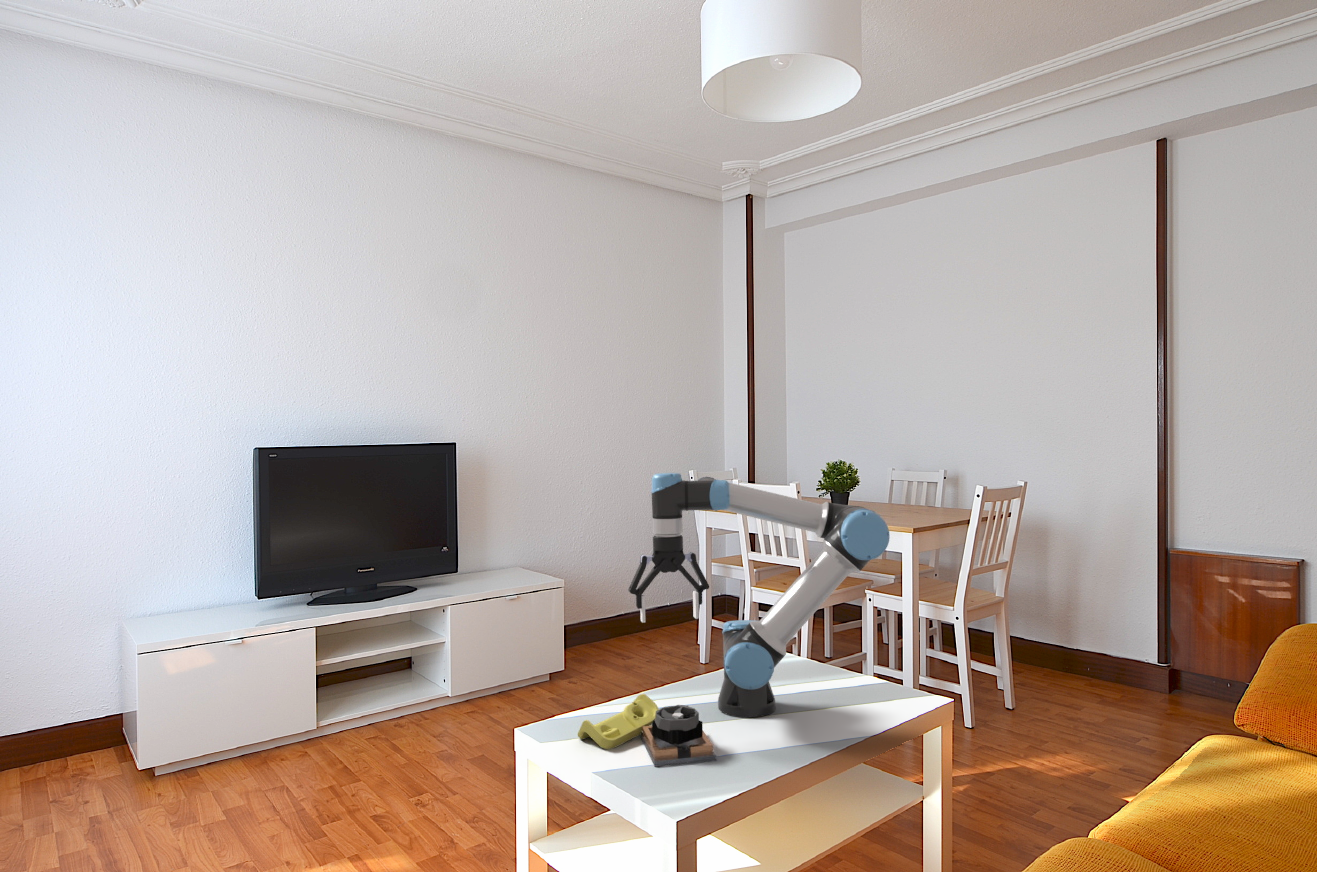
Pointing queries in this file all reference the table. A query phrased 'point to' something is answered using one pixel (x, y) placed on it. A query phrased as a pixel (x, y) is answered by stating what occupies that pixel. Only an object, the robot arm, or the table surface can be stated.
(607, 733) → the plastic component
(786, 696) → the table surface
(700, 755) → the board
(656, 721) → the cpu cooler
